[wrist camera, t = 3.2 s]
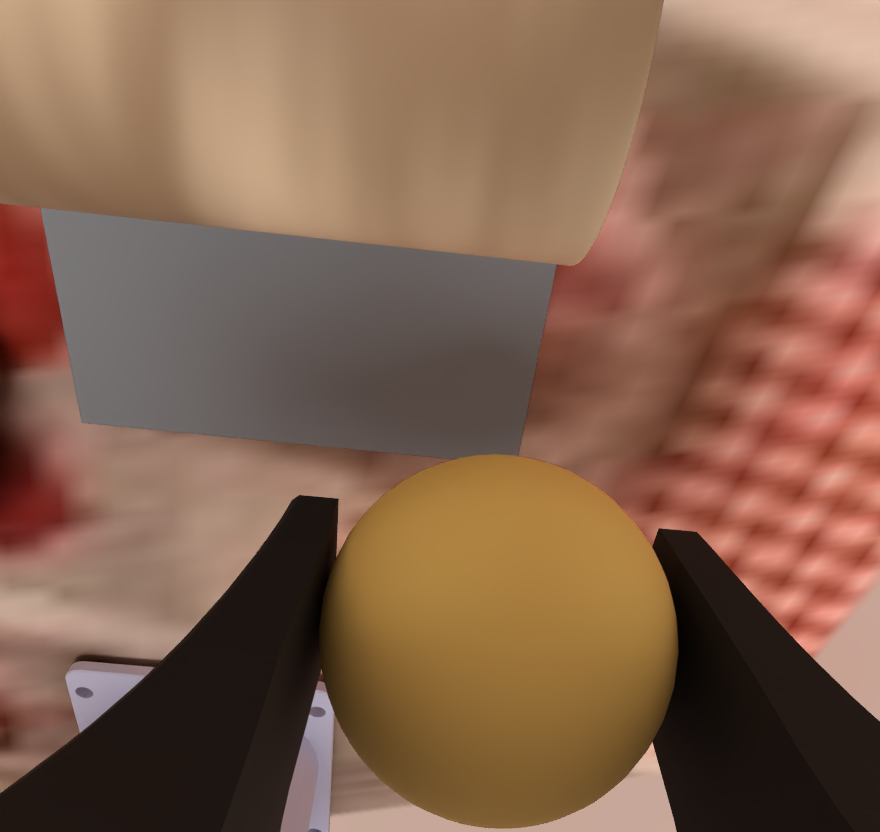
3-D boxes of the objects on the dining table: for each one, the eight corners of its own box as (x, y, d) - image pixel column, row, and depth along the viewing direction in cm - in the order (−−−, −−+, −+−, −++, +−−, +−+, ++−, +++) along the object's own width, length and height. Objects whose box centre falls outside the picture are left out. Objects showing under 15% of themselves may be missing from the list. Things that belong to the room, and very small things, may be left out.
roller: (543, 199, 14) (587, 334, 9) (55, 144, 13) (-162, 256, 9) (612, -183, 11) (732, -274, 6) (-15, -266, 10) (-407, -434, 6)
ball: (601, 629, 14) (657, 920, 10) (340, 602, 14) (284, 886, 10) (675, 409, 11) (795, 678, 7) (352, 372, 11) (284, 627, 7)
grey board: (514, 450, 18) (516, 468, 17) (92, 408, 17) (79, 425, 17) (724, -607, 9) (743, -645, 8) (-115, -740, 9) (-156, -790, 8)
